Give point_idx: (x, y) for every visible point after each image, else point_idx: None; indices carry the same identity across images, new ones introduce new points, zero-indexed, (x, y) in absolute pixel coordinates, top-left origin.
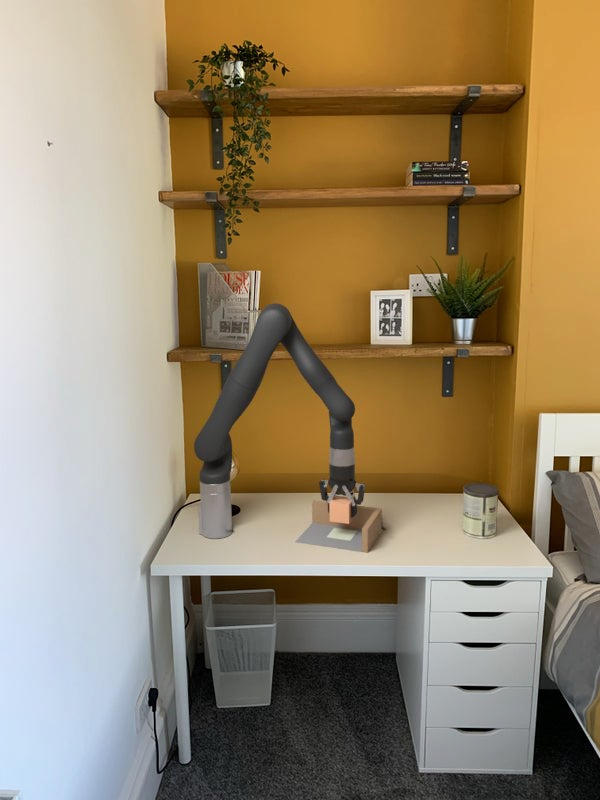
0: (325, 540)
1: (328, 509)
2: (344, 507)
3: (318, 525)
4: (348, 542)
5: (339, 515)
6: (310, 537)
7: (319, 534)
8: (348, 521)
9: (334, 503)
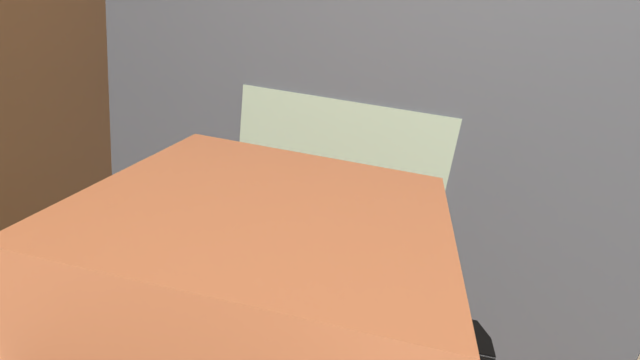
0: (465, 43)
1: (485, 353)
2: (130, 228)
3: (559, 349)
4: (251, 42)
5: (286, 186)
6: (630, 88)
7: (537, 171)
8: (187, 142)
9: (335, 313)
